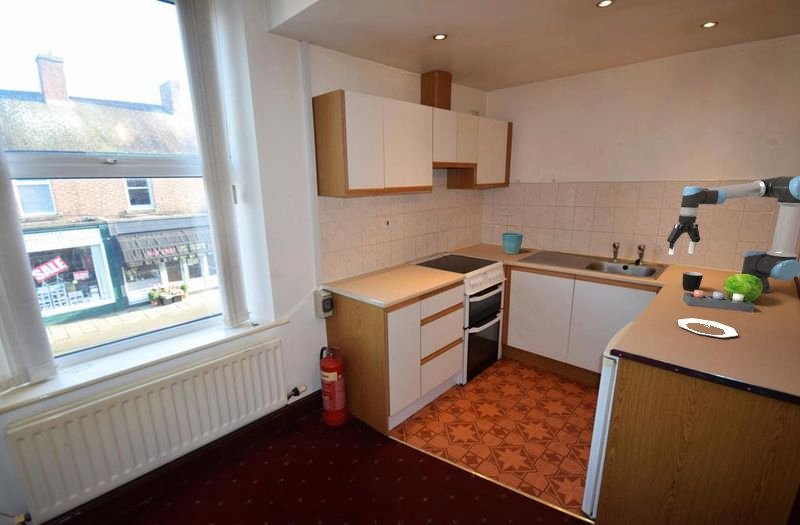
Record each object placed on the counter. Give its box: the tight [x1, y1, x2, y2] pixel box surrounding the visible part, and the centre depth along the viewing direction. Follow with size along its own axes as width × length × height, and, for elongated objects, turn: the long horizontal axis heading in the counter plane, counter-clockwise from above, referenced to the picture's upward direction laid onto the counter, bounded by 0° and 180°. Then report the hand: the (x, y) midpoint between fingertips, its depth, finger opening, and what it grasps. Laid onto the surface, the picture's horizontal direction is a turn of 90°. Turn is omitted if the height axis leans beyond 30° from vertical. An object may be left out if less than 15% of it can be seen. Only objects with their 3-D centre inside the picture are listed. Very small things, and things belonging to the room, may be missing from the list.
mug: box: [681, 271, 704, 293], centre depth 216 cm, size 12×9×10 cm
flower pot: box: [501, 232, 524, 255], centre depth 324 cm, size 18×18×17 cm
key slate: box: [712, 291, 725, 300], centre depth 188 cm, size 4×4×4 cm
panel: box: [682, 292, 755, 313], centre depth 189 cm, size 26×10×4 cm, turn 66°
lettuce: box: [722, 273, 763, 302], centre depth 196 cm, size 15×23×16 cm
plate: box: [677, 317, 739, 339], centre depth 161 cm, size 20×20×2 cm
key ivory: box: [732, 293, 744, 302], centre depth 185 cm, size 4×4×4 cm
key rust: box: [693, 289, 705, 298], centre depth 192 cm, size 4×4×4 cm
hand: (681, 253), depth 203 cm, fingers open, 13 cm apart
